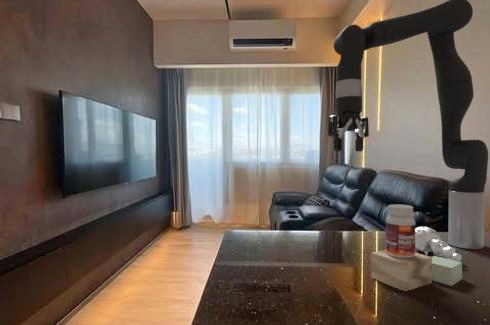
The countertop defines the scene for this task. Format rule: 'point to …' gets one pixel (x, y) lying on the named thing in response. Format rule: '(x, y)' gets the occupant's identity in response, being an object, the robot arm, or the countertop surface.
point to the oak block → (401, 270)
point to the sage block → (446, 270)
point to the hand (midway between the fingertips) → (348, 151)
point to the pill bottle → (400, 231)
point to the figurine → (434, 244)
